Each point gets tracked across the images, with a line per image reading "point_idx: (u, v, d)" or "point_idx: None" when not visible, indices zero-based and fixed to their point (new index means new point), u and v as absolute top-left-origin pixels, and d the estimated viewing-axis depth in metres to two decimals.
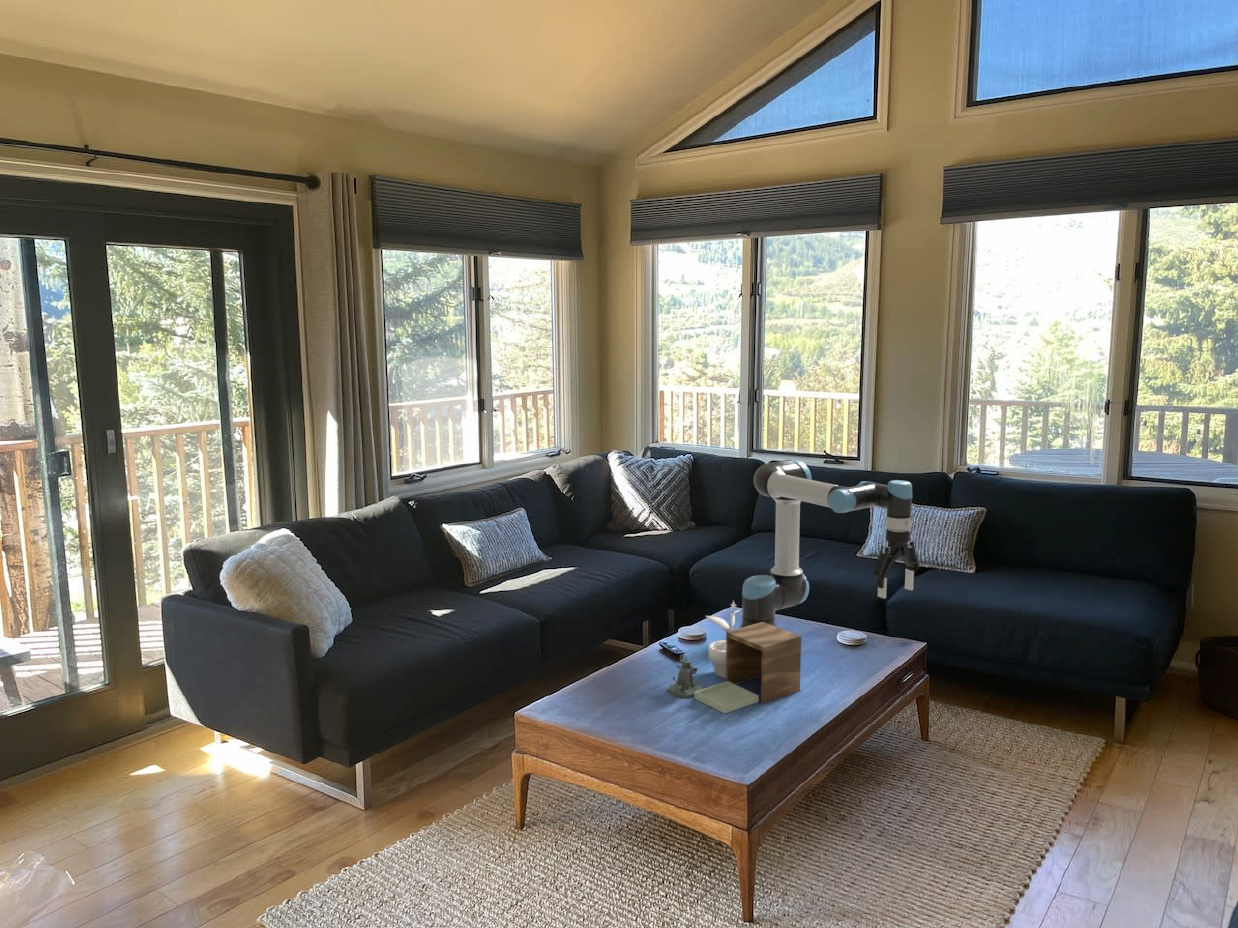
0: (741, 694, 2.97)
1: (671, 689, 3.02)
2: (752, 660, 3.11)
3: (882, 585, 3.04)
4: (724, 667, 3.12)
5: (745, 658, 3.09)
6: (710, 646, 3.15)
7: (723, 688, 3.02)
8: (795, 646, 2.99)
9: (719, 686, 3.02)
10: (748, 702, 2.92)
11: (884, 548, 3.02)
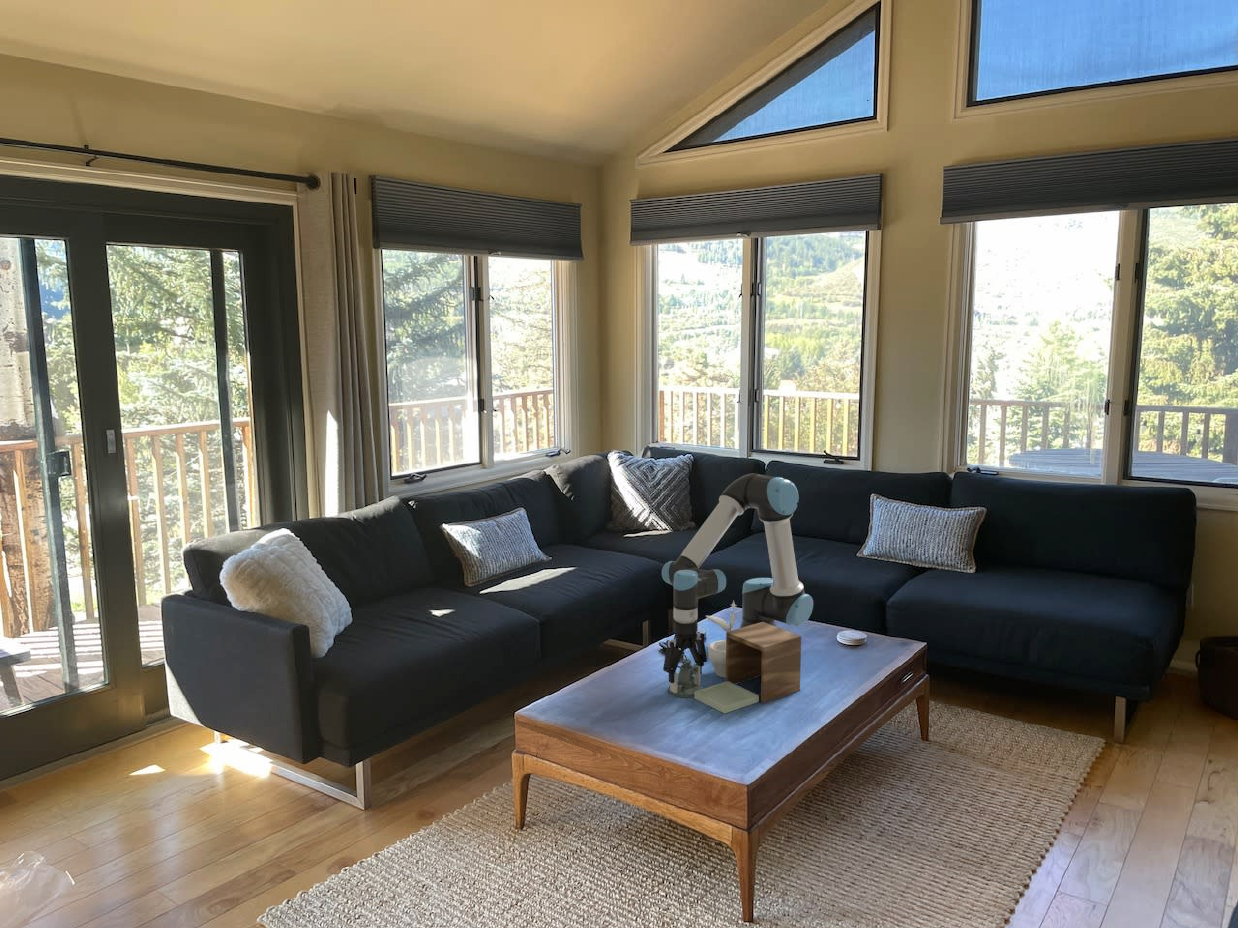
0: (741, 694, 2.97)
1: None
2: (752, 660, 3.11)
3: (673, 680, 2.99)
4: (724, 667, 3.12)
5: (745, 658, 3.09)
6: (710, 646, 3.15)
7: (723, 688, 3.02)
8: (795, 646, 2.99)
9: (719, 686, 3.02)
10: (748, 702, 2.92)
11: (668, 643, 2.96)
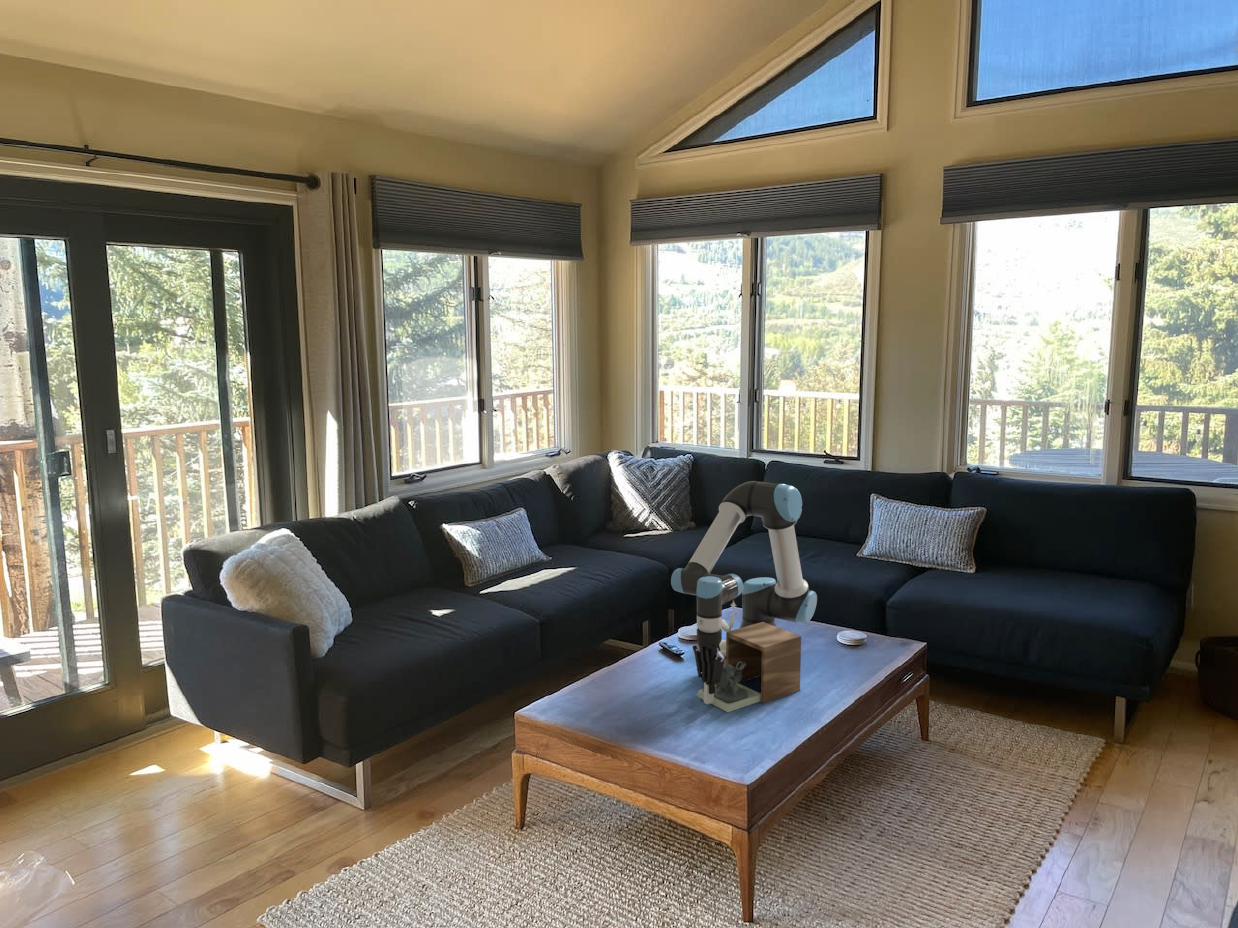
0: None
1: (725, 687, 3.01)
2: (752, 660, 3.11)
3: None
4: (724, 667, 3.12)
5: (745, 658, 3.09)
6: None
7: None
8: (795, 646, 2.99)
9: None
10: (751, 701, 2.93)
11: None
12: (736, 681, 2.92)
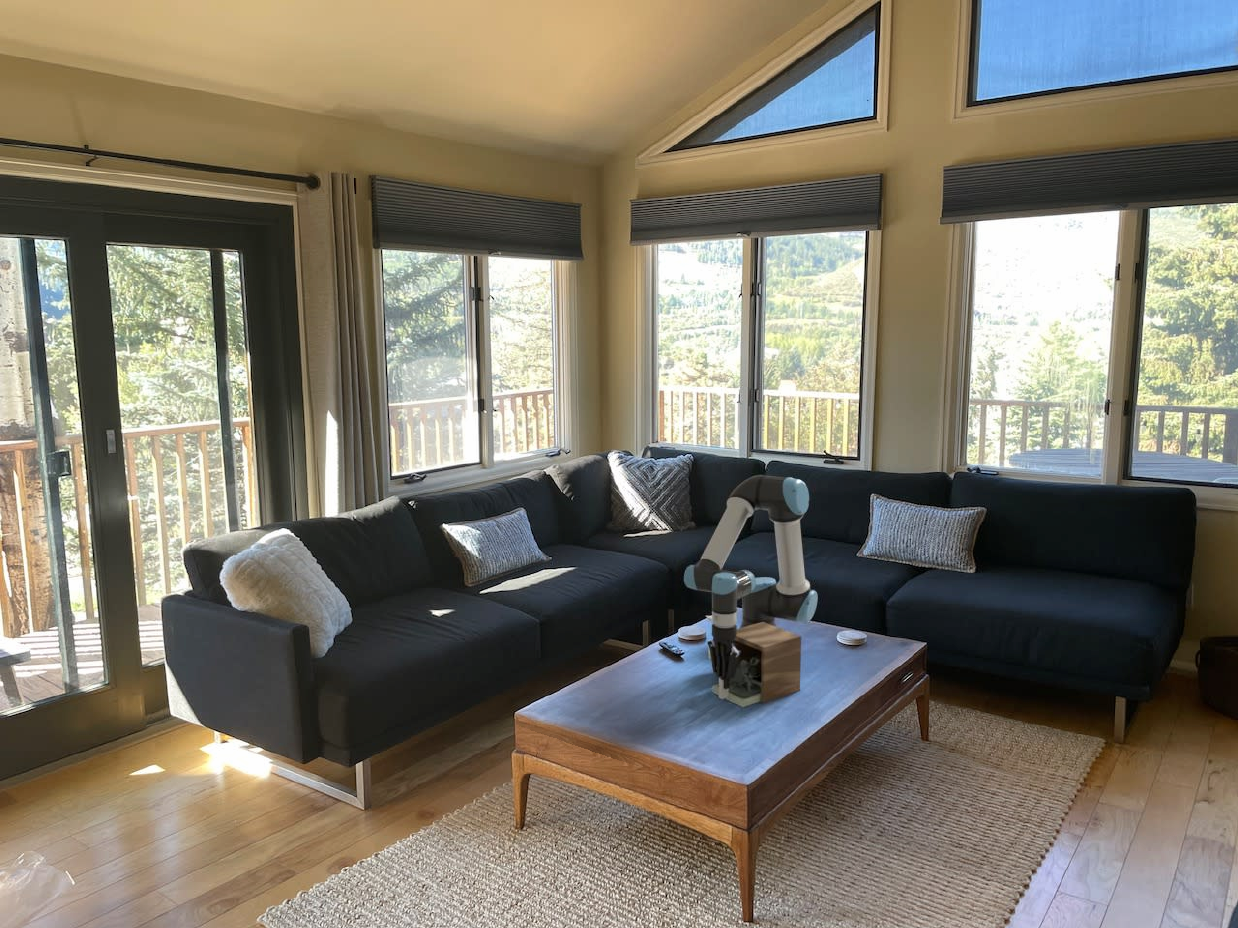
0: None
1: (739, 682, 3.04)
2: (752, 660, 3.11)
3: None
4: None
5: (745, 658, 3.09)
6: None
7: None
8: (795, 646, 2.99)
9: None
10: None
11: None
12: (750, 676, 2.95)
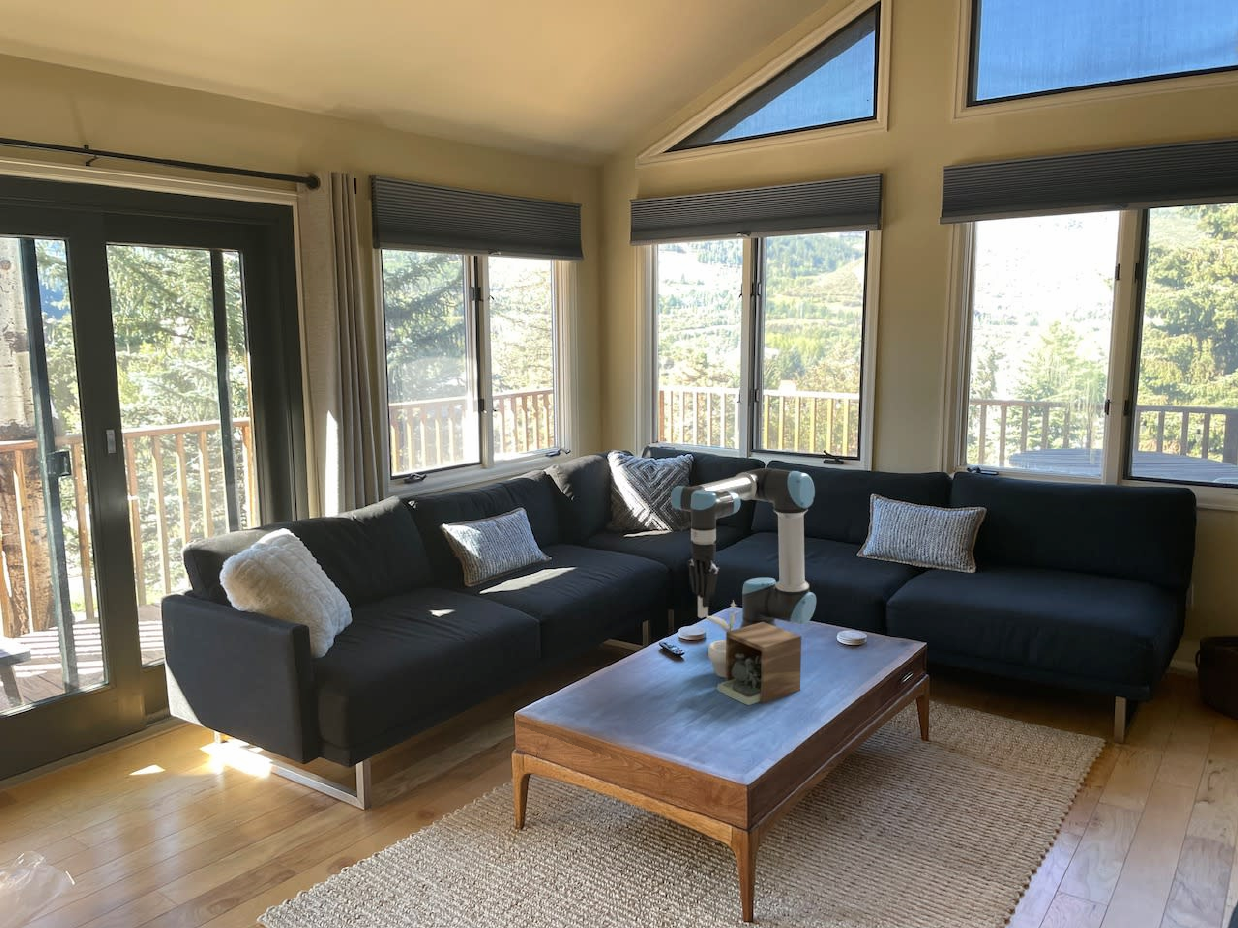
0: None
1: (744, 680, 3.06)
2: None
3: None
4: (724, 667, 3.12)
5: (745, 658, 3.09)
6: (710, 646, 3.15)
7: None
8: (795, 646, 2.99)
9: None
10: None
11: None
12: (756, 675, 2.96)
